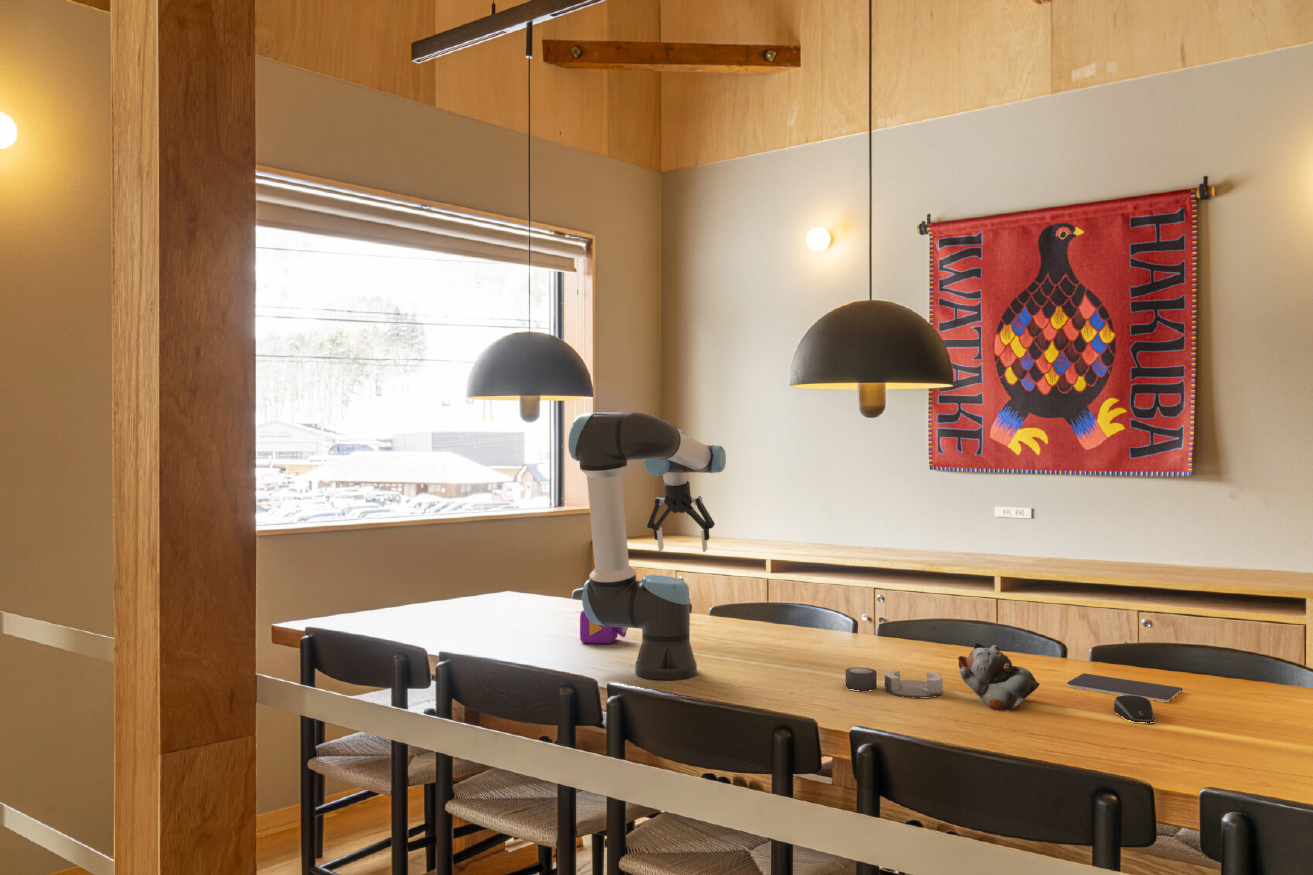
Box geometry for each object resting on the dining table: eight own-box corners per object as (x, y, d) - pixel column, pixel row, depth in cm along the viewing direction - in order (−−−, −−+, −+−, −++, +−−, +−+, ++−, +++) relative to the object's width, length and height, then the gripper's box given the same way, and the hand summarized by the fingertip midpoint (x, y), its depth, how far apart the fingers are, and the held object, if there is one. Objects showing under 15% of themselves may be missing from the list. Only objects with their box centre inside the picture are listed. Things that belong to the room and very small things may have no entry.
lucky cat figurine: (1008, 714, 195) (973, 652, 198) (969, 723, 205) (937, 664, 208) (1051, 684, 203) (1017, 625, 206) (1012, 694, 213) (980, 637, 216)
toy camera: (627, 645, 265) (627, 609, 265) (578, 645, 265) (578, 609, 265) (629, 638, 276) (629, 603, 276) (582, 637, 276) (582, 603, 276)
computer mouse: (1124, 724, 189) (1124, 704, 189) (1108, 708, 201) (1108, 689, 201) (1162, 726, 188) (1162, 706, 188) (1144, 710, 200) (1144, 691, 200)
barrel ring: (941, 686, 219) (941, 670, 219) (943, 700, 207) (942, 683, 207) (885, 682, 222) (885, 667, 222) (883, 696, 210) (883, 679, 210)
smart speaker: (867, 693, 213) (867, 675, 213) (839, 688, 217) (839, 671, 217) (882, 687, 218) (881, 670, 218) (854, 683, 223) (854, 665, 223)
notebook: (1182, 694, 213) (1083, 679, 227) (1182, 687, 213) (1083, 672, 227) (1168, 706, 204) (1065, 689, 218) (1168, 698, 204) (1065, 682, 218)
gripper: (720, 477, 277) (726, 546, 282) (640, 478, 285) (647, 545, 290) (714, 485, 270) (720, 555, 275) (632, 485, 278) (639, 553, 283)
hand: (683, 550), depth 282 cm, fingers open, 13 cm apart
